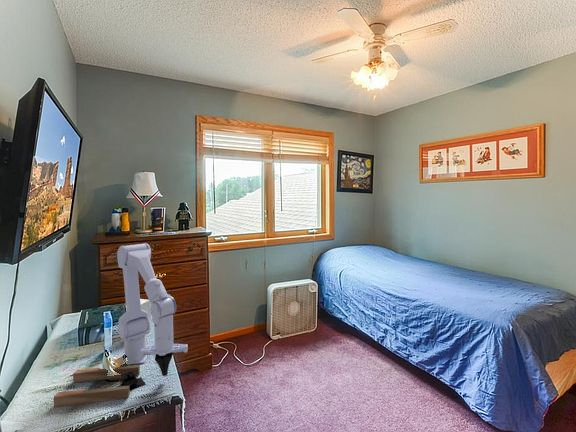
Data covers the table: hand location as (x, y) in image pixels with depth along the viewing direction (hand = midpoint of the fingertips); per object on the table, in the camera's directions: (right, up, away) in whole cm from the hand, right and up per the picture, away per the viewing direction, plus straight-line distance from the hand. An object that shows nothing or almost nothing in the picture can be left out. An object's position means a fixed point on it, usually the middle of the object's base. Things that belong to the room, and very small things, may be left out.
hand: (165, 374), depth 103 cm
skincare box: (-25, 0, +35) cm, 43 cm away
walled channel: (-19, -3, -4) cm, 20 cm away
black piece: (-11, -3, -3) cm, 12 cm away
